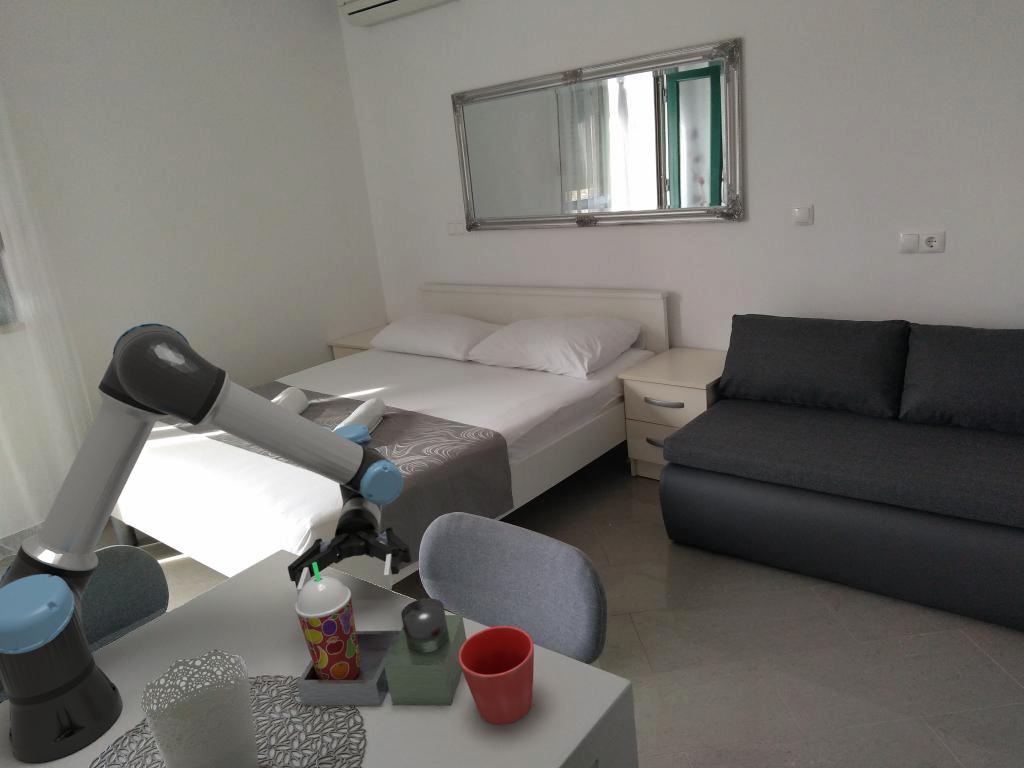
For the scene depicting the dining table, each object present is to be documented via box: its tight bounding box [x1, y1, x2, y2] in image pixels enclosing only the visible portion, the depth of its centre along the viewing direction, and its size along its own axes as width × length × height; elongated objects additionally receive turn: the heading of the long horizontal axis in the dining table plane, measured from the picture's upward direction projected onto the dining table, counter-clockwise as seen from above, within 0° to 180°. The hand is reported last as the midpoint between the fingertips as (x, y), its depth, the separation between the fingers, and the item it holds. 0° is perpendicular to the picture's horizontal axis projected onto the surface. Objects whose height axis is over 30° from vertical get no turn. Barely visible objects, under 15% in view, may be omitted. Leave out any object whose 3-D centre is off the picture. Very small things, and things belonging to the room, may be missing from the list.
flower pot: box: [459, 625, 535, 726], centre depth 107 cm, size 11×11×10 cm
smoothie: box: [294, 562, 361, 680], centre depth 116 cm, size 8×8×20 cm
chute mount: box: [296, 597, 467, 707], centre depth 116 cm, size 23×13×12 cm, turn 81°
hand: (344, 589), depth 119 cm, fingers open, 13 cm apart
